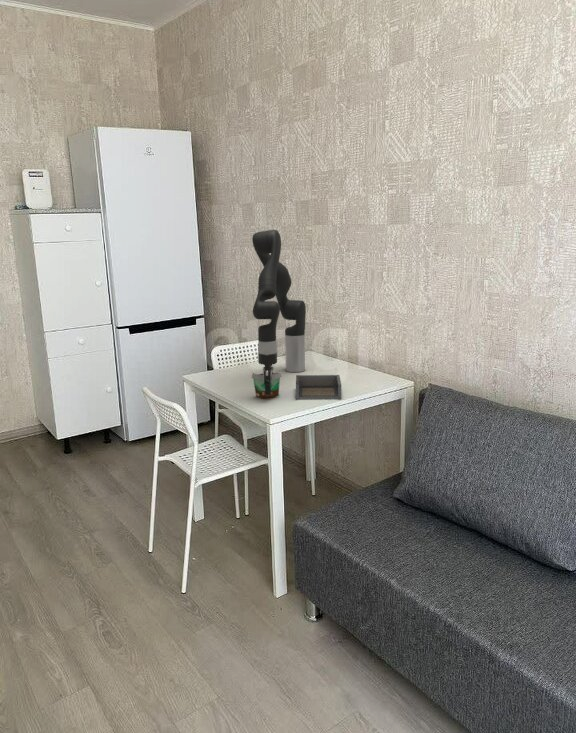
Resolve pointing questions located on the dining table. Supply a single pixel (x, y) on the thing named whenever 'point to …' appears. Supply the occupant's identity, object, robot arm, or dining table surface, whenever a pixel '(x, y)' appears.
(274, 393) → the food container
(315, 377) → the keeper cradle
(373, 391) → the dining table surface
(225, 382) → the dining table surface
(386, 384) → the dining table surface
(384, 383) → the dining table surface
